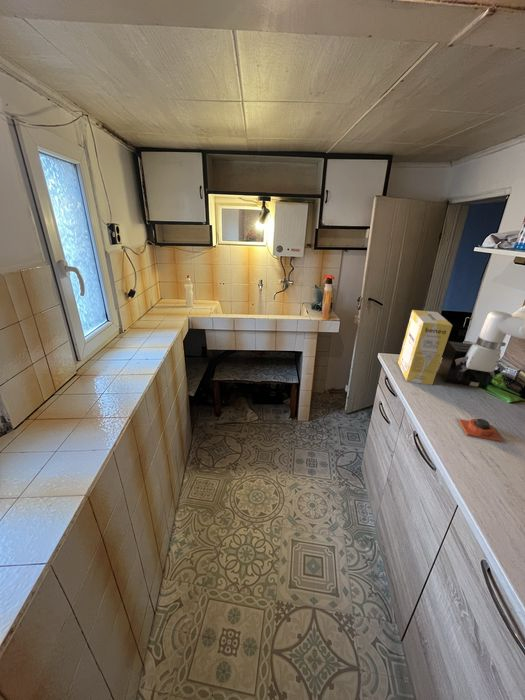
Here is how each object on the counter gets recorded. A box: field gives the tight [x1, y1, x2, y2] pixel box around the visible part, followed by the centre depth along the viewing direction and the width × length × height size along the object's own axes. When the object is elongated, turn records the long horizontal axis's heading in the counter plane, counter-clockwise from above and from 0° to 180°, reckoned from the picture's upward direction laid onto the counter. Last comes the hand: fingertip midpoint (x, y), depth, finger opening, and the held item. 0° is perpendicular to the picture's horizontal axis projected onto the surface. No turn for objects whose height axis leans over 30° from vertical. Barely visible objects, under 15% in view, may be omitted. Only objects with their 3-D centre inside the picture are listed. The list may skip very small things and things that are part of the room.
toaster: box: [437, 340, 501, 389], centre depth 124 cm, size 16×11×16 cm
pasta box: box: [397, 309, 453, 386], centre depth 125 cm, size 18×10×28 cm, turn 167°
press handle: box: [465, 375, 479, 388], centre depth 117 cm, size 3×6×2 cm, turn 164°
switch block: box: [458, 418, 503, 443], centre depth 94 cm, size 10×8×3 cm
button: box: [475, 418, 491, 430], centre depth 94 cm, size 4×4×2 cm
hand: (472, 381), depth 116 cm, fingers open, 9 cm apart
